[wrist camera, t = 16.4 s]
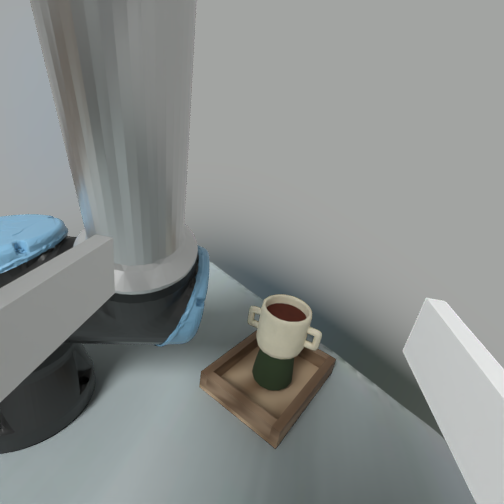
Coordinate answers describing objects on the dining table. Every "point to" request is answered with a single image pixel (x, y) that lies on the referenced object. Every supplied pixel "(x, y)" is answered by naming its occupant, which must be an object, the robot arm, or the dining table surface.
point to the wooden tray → (260, 399)
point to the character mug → (280, 338)
